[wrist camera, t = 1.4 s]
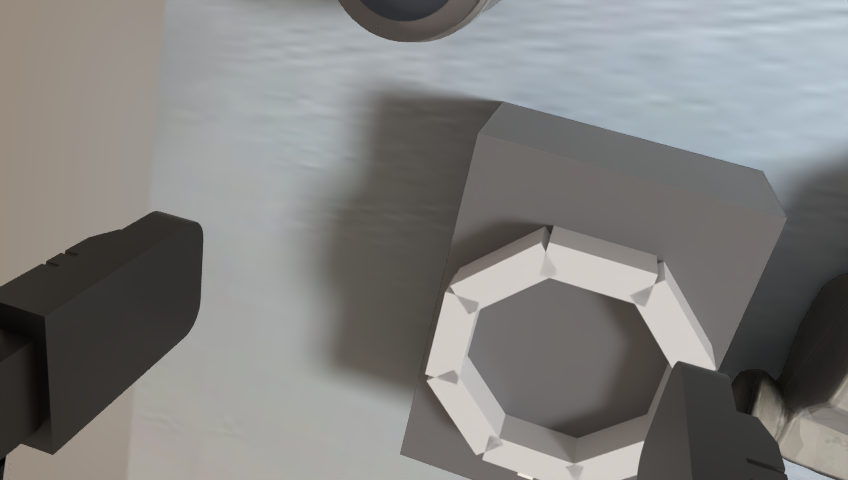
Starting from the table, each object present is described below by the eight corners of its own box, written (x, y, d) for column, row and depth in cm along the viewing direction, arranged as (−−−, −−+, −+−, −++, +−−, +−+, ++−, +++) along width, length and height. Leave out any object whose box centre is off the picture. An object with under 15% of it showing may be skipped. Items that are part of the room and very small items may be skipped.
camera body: (502, 101, 29) (468, 144, 23) (763, 171, 27) (796, 236, 21) (430, 387, 35) (389, 478, 29) (640, 457, 33) (641, 569, 27)
